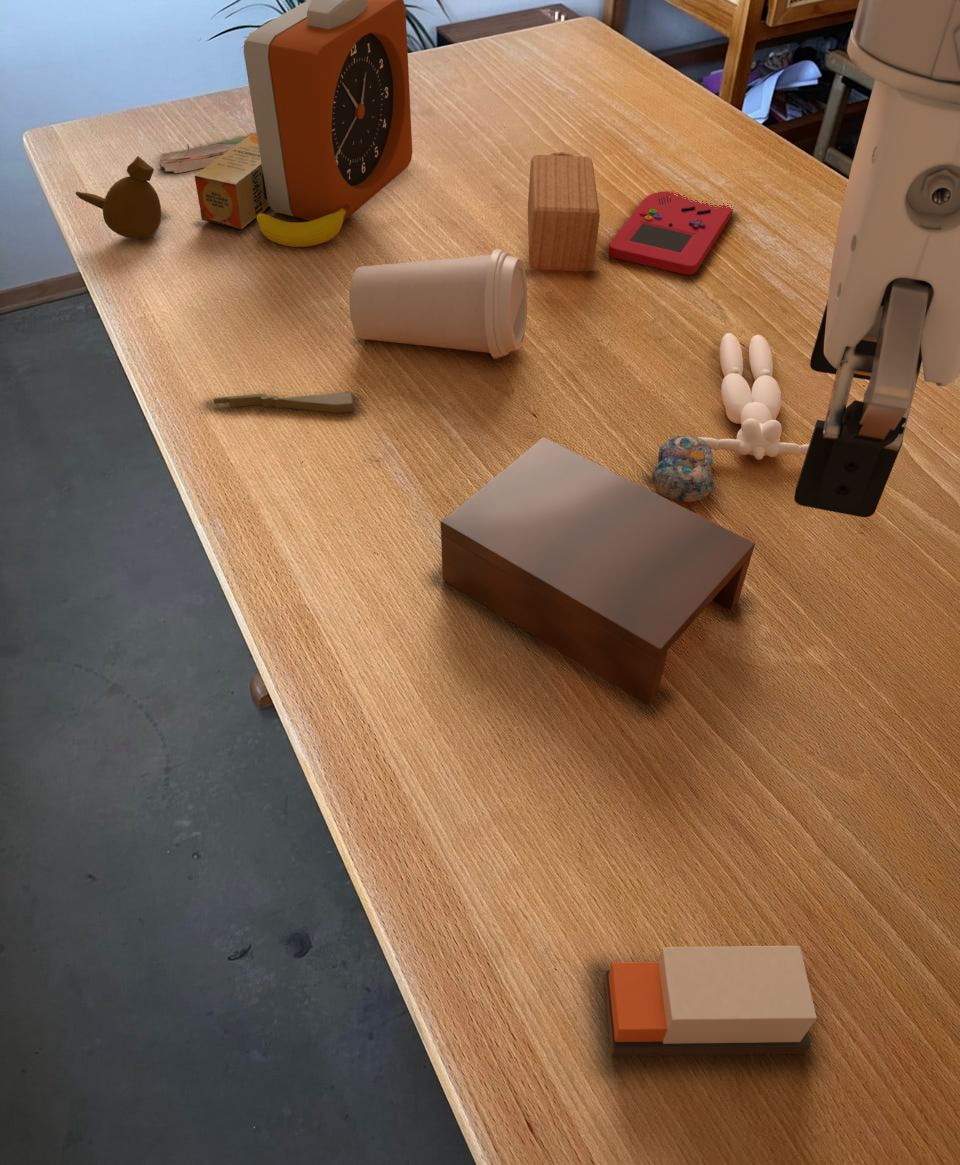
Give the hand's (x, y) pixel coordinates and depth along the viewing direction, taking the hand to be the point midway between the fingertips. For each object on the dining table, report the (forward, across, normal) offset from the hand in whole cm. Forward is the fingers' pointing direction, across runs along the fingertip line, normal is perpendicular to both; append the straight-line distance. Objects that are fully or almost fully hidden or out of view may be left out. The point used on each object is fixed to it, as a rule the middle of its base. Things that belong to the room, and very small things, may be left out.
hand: (838, 434), depth 44 cm
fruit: (+25, +50, +51) cm, 76 cm away
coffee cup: (+23, +38, +39) cm, 59 cm away
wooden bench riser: (+26, +11, +12) cm, 31 cm away
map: (+26, +71, +68) cm, 102 cm away
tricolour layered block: (+26, -17, 0) cm, 31 cm away
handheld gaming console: (+25, +73, +13) cm, 78 cm away
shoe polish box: (+23, +65, +60) cm, 91 cm away
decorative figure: (+24, +46, +4) cm, 52 cm away
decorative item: (+22, +53, +23) cm, 62 cm away
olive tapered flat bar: (+25, +25, +42) cm, 55 cm away
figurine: (+22, +47, +68) cm, 85 cm away
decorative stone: (+26, +25, +7) cm, 37 cm away
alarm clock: (+26, +64, +52) cm, 87 cm away
